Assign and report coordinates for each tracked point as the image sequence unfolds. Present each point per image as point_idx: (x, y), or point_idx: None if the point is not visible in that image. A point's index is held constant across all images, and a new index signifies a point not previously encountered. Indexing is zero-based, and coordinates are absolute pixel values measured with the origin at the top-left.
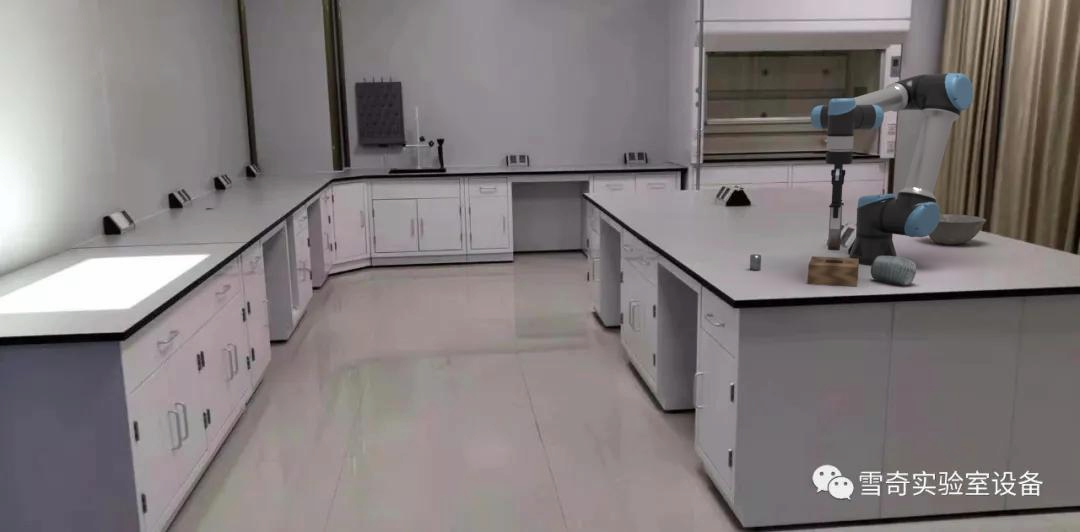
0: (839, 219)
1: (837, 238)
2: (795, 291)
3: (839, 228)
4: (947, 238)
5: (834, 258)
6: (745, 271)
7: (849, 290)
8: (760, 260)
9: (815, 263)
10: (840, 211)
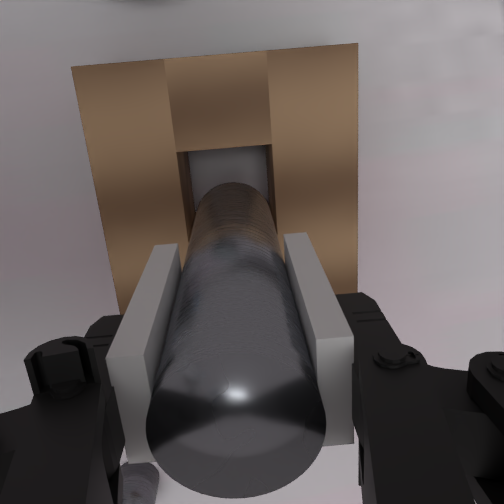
0: (321, 272)
1: (270, 221)
2: (492, 278)
3: (305, 235)
4: None
5: (131, 206)
6: (182, 496)
7: (424, 71)
8: (133, 494)
9: None
10: (339, 310)
